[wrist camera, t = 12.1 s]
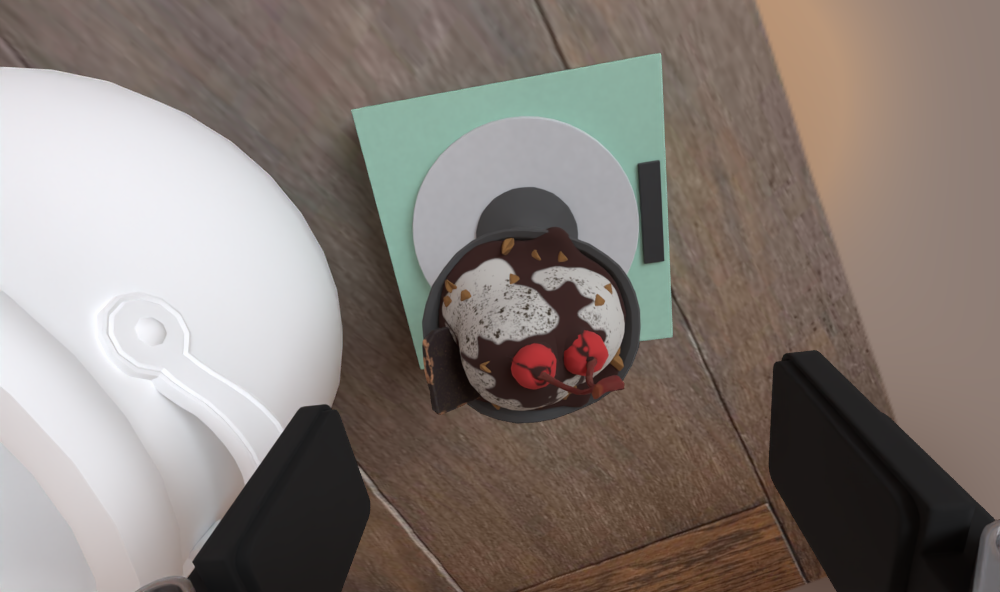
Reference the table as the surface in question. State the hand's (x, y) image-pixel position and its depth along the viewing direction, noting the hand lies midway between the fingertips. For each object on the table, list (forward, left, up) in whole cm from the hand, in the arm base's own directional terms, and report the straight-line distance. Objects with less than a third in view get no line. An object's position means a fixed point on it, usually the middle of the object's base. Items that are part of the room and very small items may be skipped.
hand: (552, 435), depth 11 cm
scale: (+1, 0, -18) cm, 18 cm away
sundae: (0, 0, -15) cm, 15 cm away
